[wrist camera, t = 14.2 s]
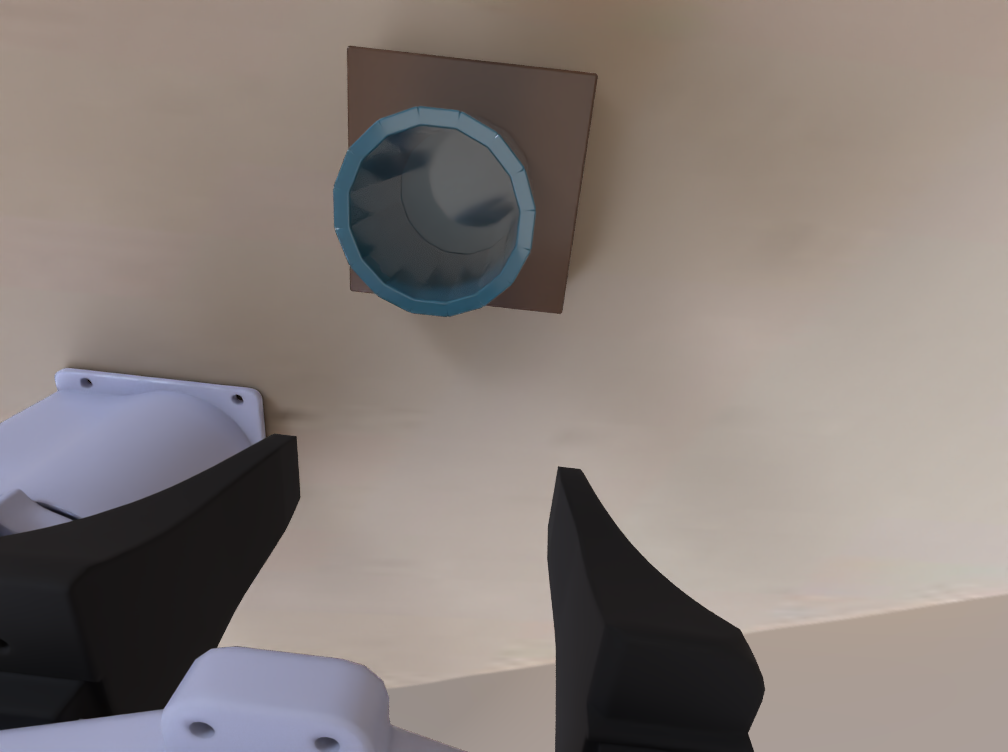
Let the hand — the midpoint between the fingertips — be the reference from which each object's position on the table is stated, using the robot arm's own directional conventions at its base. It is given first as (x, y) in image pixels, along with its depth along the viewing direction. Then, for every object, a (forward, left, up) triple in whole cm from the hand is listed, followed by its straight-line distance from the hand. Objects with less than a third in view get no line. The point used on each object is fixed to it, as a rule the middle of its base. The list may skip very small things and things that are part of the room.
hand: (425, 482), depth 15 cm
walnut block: (0, +7, -10) cm, 12 cm away
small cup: (0, +7, -7) cm, 10 cm away
